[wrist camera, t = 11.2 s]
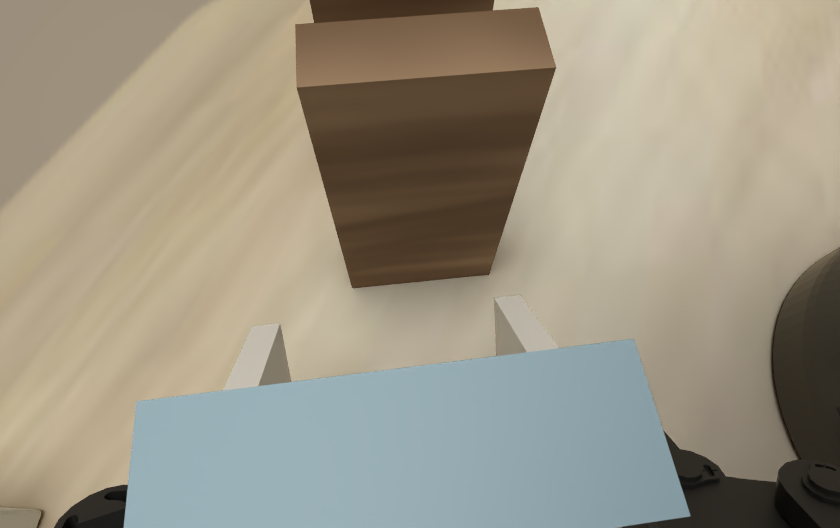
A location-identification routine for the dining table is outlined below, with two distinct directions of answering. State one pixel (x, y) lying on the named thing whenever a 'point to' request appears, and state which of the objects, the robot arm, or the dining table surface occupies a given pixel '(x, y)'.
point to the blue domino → (414, 449)
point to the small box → (19, 517)
